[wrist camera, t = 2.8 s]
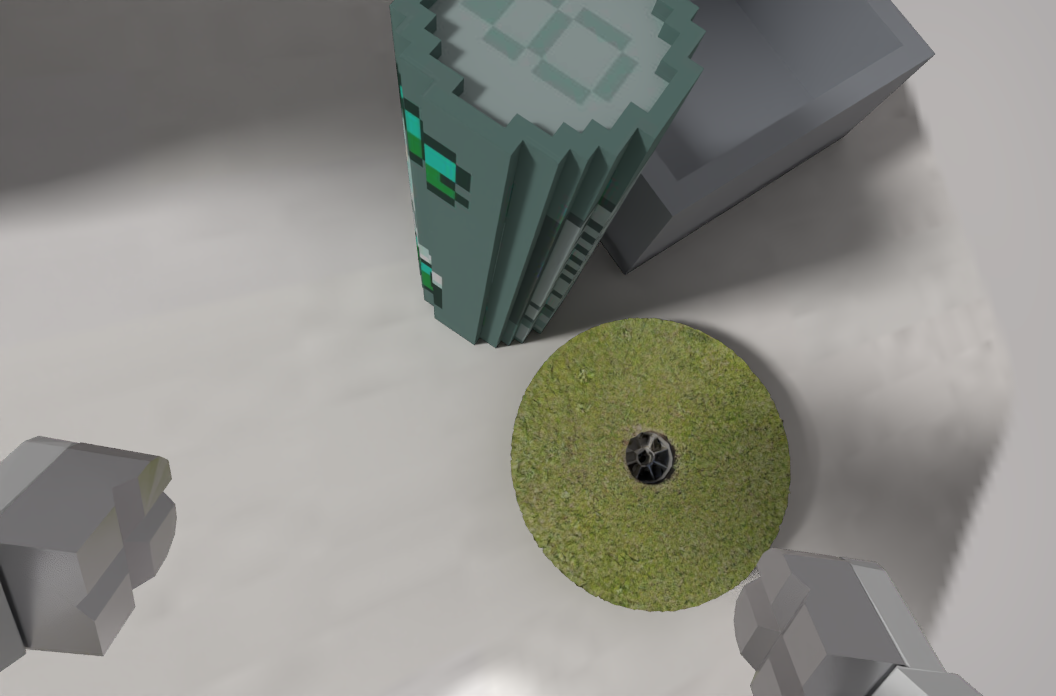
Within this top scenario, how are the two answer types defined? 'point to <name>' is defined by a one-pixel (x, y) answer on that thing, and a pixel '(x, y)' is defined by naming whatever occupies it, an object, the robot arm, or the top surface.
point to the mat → (650, 464)
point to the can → (529, 141)
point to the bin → (762, 108)
